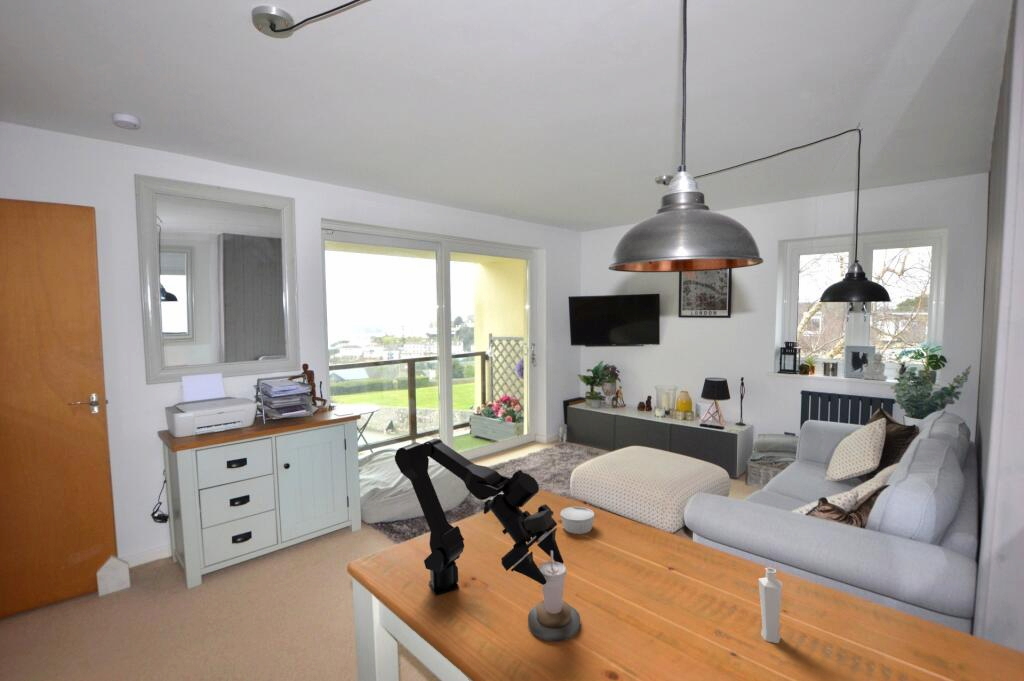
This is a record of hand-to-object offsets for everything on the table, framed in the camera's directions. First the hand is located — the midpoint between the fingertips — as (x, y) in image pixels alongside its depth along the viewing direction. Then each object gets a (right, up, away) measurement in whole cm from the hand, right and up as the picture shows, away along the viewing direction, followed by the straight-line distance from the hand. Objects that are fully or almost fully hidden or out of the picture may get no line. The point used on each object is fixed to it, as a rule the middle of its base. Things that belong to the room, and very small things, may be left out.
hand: (554, 573), depth 107 cm
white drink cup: (0, -9, +1) cm, 9 cm away
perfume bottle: (+47, -11, -6) cm, 48 cm away
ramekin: (+12, -9, +49) cm, 51 cm away
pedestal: (0, -12, +1) cm, 12 cm away
